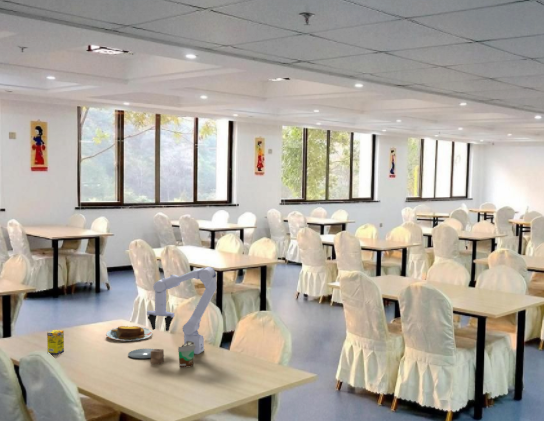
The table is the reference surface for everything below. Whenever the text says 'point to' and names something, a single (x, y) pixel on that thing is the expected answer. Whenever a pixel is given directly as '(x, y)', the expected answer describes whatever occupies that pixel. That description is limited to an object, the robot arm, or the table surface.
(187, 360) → the food container
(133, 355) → the slate dish
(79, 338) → the table surface
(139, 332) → the food on plate
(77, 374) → the table surface
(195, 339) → the robot arm
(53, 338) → the supplement box
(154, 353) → the walnut block
